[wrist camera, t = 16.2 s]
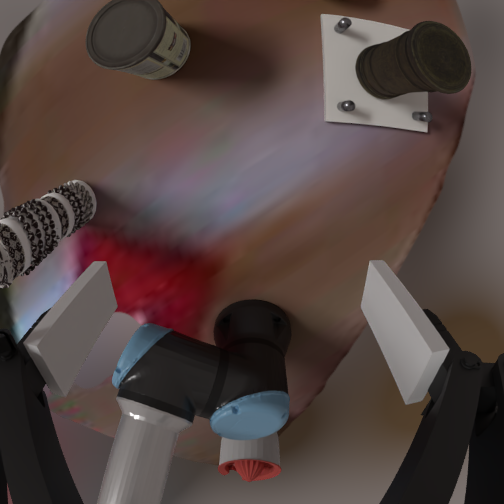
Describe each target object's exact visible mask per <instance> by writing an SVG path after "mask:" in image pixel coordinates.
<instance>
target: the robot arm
mask: <svg viewBox="0 0 504 504" xmlns="http://www.w3.org/2000/svg"><path fill="white" fill-rule="evenodd" d="M117 307H118V306H117V303H116V299H115V295H114V292H113V288H112V284H111V280H110V276H109V272H108V267H107V263H106V262H99V261H94V262H93V263H92V264H91V265H90V266H89V267H88V268H87V269H86V270H85V271H84V272H83V274H82V275H81V276H80V277H79V278H78V279H77V280H76V281H75V282H74V283H73V284H72V285H71V287H70V288H69V289H68V290H67V291H66V292H65V293H64V294H63V295H62V297H61V298H60V299H59V300H58V301H57V302H56V303H55V305H54V306H53V307H52V308H50V309H49V310H47V311H46V312H44V313H43V314H42V315H41V316H40V317H39V318H38V319H37V321H36V322H35V323H34V324H33V325H32V328H30V329H29V330H28V331H27V333H26V334H25V335H24V336H23V338H22V339H21V340H20V341H19V343H18V344H16V342H15V340H14V338H13V336H12V334H11V332H10V331H9V330H8V329H0V504H8V496H7V484H8V487H9V491H10V495H11V499H12V502H13V504H84V503H83V501H82V499H81V497H80V495H79V493H78V490H77V488H76V486H75V484H74V481H73V479H72V476H71V474H70V471H69V469H68V466H67V463H66V461H65V458H64V455H63V452H62V450H61V447H60V444H59V441H58V437H57V434H56V431H55V428H54V424H53V421H52V417H51V414H50V410H49V406H48V402H47V397H46V394H45V392H44V391H43V387H44V386H45V384H47V386H48V388H49V389H50V391H51V392H52V393H54V394H57V395H61V396H64V397H66V395H67V393H68V391H69V389H70V387H71V386H72V384H73V382H74V380H75V378H76V376H77V374H78V373H79V371H80V369H81V367H82V365H83V364H84V362H85V360H86V358H87V357H88V355H89V353H90V351H91V349H92V348H93V346H94V344H95V343H96V341H97V339H98V338H99V336H100V334H101V332H102V331H103V329H104V328H105V326H106V324H107V323H108V321H109V319H110V318H111V316H112V315H113V313H114V311H115V310H116V308H117ZM361 309H362V311H363V313H364V315H365V317H366V319H367V321H368V323H369V325H370V327H371V329H372V331H373V333H374V335H375V337H376V340H377V342H378V344H379V346H380V348H381V350H382V352H383V354H384V357H385V359H386V361H387V363H388V365H389V367H390V370H391V372H392V374H393V377H394V379H395V381H396V383H397V386H398V388H399V390H400V393H401V395H402V397H403V400H404V402H405V404H411V403H415V402H420V401H422V400H423V398H424V397H425V395H426V393H427V392H429V394H430V396H431V400H430V401H429V403H428V404H427V406H426V408H425V409H424V411H423V412H422V414H421V415H424V416H423V418H422V421H421V423H420V425H419V428H418V430H417V433H416V435H415V437H414V439H413V442H412V444H411V446H410V448H409V450H408V453H407V455H406V457H405V458H404V461H403V463H402V464H401V466H400V468H399V471H398V472H397V474H396V476H395V478H394V480H393V481H392V483H391V485H390V487H389V489H388V490H387V492H386V494H385V495H384V497H383V499H382V500H381V502H380V504H448V503H449V501H450V498H451V496H452V494H453V491H454V488H455V486H456V483H457V480H458V477H459V475H460V472H461V469H462V465H463V462H464V459H465V456H466V452H467V449H468V445H469V463H468V476H467V487H466V494H465V503H464V504H504V353H503V354H501V355H500V356H499V357H498V359H497V361H496V363H482V361H481V359H480V358H479V357H478V356H477V355H476V354H474V353H471V352H468V351H462V350H461V348H460V347H459V346H458V344H457V343H456V341H455V340H454V339H453V337H452V336H451V334H450V333H449V332H448V331H447V330H446V328H445V326H444V325H442V322H441V321H440V320H439V319H438V317H437V316H436V315H435V314H434V313H432V312H431V311H430V310H428V309H423V310H422V309H421V308H420V306H419V305H418V304H417V302H416V301H415V300H414V298H413V297H412V296H411V294H410V293H409V292H408V291H407V289H406V288H405V287H404V285H403V284H402V283H401V282H400V280H399V279H398V278H397V276H396V275H395V274H394V273H393V271H392V270H391V269H390V268H389V266H388V265H387V264H386V263H385V262H384V260H370V262H369V267H368V273H367V278H366V283H365V288H364V293H363V298H362V303H361ZM214 340H215V344H216V346H214V345H211V344H208V343H205V342H202V341H199V340H197V339H194V338H191V337H189V336H186V335H183V334H181V333H178V332H176V331H174V330H173V329H167V328H164V327H161V326H158V325H156V324H152V323H147V324H144V325H142V326H141V327H140V328H139V329H138V330H137V331H136V332H135V333H134V335H133V336H132V338H131V339H130V341H129V342H128V344H127V346H126V348H125V349H124V351H123V353H122V355H121V357H120V359H119V361H118V364H117V365H118V366H117V367H116V370H115V372H114V374H113V378H112V383H113V385H114V386H115V387H116V388H117V389H119V388H120V389H119V392H118V395H117V398H116V399H117V402H118V404H119V406H120V408H121V410H122V417H121V420H120V423H119V426H118V429H117V433H116V436H115V439H114V443H113V446H112V449H111V453H110V456H109V460H108V464H107V467H106V471H105V475H104V478H103V482H102V486H101V490H100V494H99V498H98V502H97V504H160V503H161V499H162V495H163V491H164V487H165V484H166V480H167V476H168V472H169V468H170V464H171V461H172V457H173V453H174V450H175V446H176V442H177V438H178V435H179V433H180V432H181V431H183V430H184V429H186V428H188V427H190V426H192V424H193V420H194V416H195V415H196V416H200V417H203V418H206V419H210V425H211V428H212V430H213V431H214V432H215V433H217V434H218V435H219V436H221V437H224V438H227V439H232V440H253V439H258V438H262V437H266V436H268V435H271V434H273V433H275V432H277V431H278V430H279V429H281V428H282V427H283V426H284V425H285V423H286V422H287V420H288V417H289V401H290V397H289V395H288V386H287V377H286V367H285V358H284V357H285V355H286V352H287V349H288V346H289V343H290V340H291V328H290V322H289V320H288V318H287V316H286V314H285V313H284V312H283V311H282V310H281V309H280V308H278V307H277V306H275V305H273V304H271V303H268V302H265V301H261V300H244V301H239V302H236V303H233V304H231V305H229V306H228V307H226V308H225V309H224V310H223V311H222V312H221V313H220V314H219V315H218V317H217V319H216V322H215V327H214Z"/></svg>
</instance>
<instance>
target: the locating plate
mask: <svg viewBox="0 0 504 504" xmlns="http://www.w3.org/2000/svg"><path fill="white" fill-rule="evenodd" d="M320 17H321V32H322V49H323V74H324V121H328V122H344V123H357V124H367V125H377V126H386V127H394V128H401V129H408V130H415V131H421V132H427V130H428V122H430V121H431V120H432V115H431V113H429V112H428V92H413V93H407V94H404V95H400V96H398V97H395V98H392V99H379V98H376V97H373V96H372V95H370V94H369V93H367V92H366V91H365V90H364V88H363V87H362V86H361V84H360V83H359V81H358V78H357V75H356V70H355V65H356V60H357V58H358V55H359V54H360V53H361V51H362V50H364V49H365V48H367V47H369V46H372V45H375V44H380V43H383V42H387V41H389V40H392V39H394V38H396V37H398V36H400V35H401V34H403V33H404V32H406V31H409V30H408V29H404V28H400V27H396V26H392V25H388V24H383V23H379V22H374V21H369V20H363V19H357V18H351V17H344V16H337V15H329V14H322V15H321V16H320Z"/></svg>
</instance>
